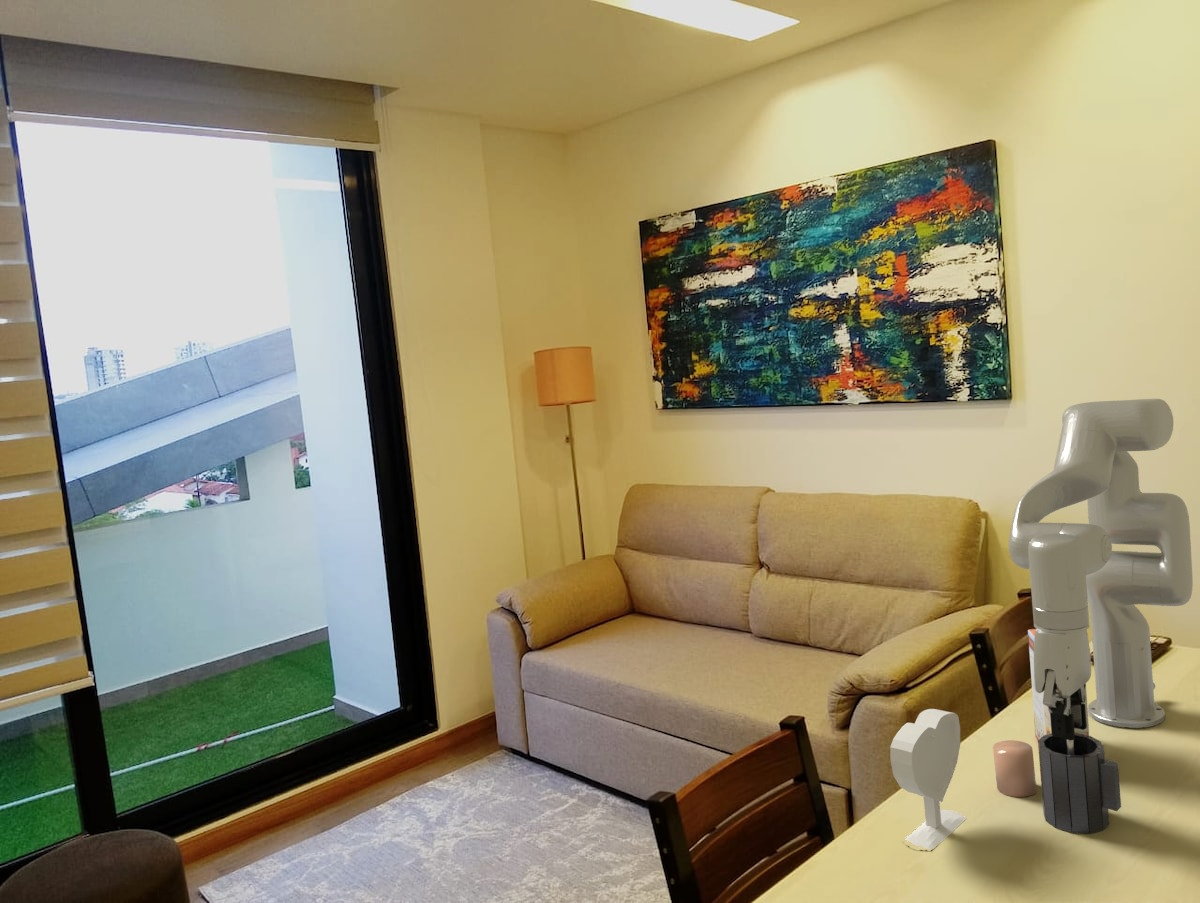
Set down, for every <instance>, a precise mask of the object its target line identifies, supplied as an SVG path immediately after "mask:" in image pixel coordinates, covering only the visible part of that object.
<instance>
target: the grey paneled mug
mask: <svg viewBox="0 0 1200 903" xmlns="http://www.w3.org/2000/svg"><path fill="white" fill-rule="evenodd" d="M1073 743H1074V755H1068V751H1067V739H1063V738H1059V737H1054V736H1053V735H1052V733H1051V734H1047V735H1044V736H1043V737H1042V738H1040V739H1039V740H1037V746H1038V748H1037V749H1038V759H1039V770H1040V784H1041V795H1042V797H1041V798H1042V810H1043V816H1044V821H1046V823H1048V824H1049V825H1051V826H1052V827H1053V828H1055V829H1057V830H1060V831H1064V832H1066V833H1067V832H1068V833H1070V834H1081V835H1084V834H1086V835H1089V834H1090V835H1091V834H1095V833H1099V832H1102V831H1105V829H1106V828H1107V827H1108V826H1109V824H1110V816H1109V814H1110V813H1109V810H1110V811H1115V812H1118V811H1119V810H1120V809H1121V808H1122V802H1121V801H1122V799H1121V788H1120V787H1121V786H1120V784H1121V783H1120V774H1119V773H1120V771H1119V762H1118V761H1114V760H1111V759H1110V760H1109V759H1106V757H1105V748H1104V745H1103V743H1102V741H1100V740H1099V739H1097V738H1095V737H1093V736H1091V735H1090V734H1089V735H1084V734H1079V733H1075V738H1074V739H1073Z"/></svg>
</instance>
